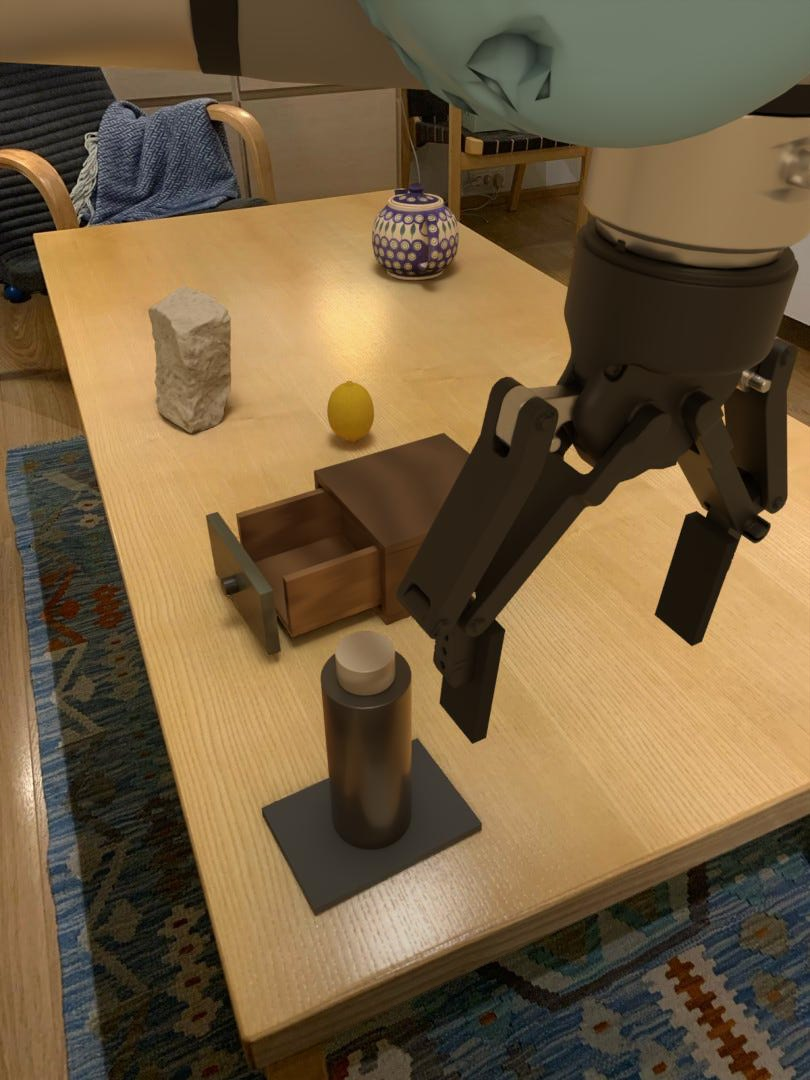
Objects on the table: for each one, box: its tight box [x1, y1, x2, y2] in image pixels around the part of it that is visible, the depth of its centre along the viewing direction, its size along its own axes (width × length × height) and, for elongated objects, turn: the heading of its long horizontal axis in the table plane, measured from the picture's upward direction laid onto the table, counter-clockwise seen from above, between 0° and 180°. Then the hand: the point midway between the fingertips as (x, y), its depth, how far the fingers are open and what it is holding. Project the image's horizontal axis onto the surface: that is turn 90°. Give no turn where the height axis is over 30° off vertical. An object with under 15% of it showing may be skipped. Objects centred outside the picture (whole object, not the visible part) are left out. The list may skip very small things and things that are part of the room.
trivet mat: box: [260, 737, 483, 916], centre depth 62 cm, size 13×9×1 cm
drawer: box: [205, 487, 382, 657], centre depth 80 cm, size 15×13×7 cm
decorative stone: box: [147, 285, 232, 434], centre depth 108 cm, size 10×9×15 cm
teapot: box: [371, 182, 460, 281], centre depth 150 cm, size 25×15×15 cm, turn 11°
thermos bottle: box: [320, 630, 413, 850], centre depth 57 cm, size 6×6×16 cm
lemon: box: [326, 380, 375, 443], centre depth 104 cm, size 6×6×8 cm
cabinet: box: [313, 432, 471, 625], centre depth 85 cm, size 15×14×9 cm
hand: (577, 671), depth 43 cm, fingers open, 13 cm apart
